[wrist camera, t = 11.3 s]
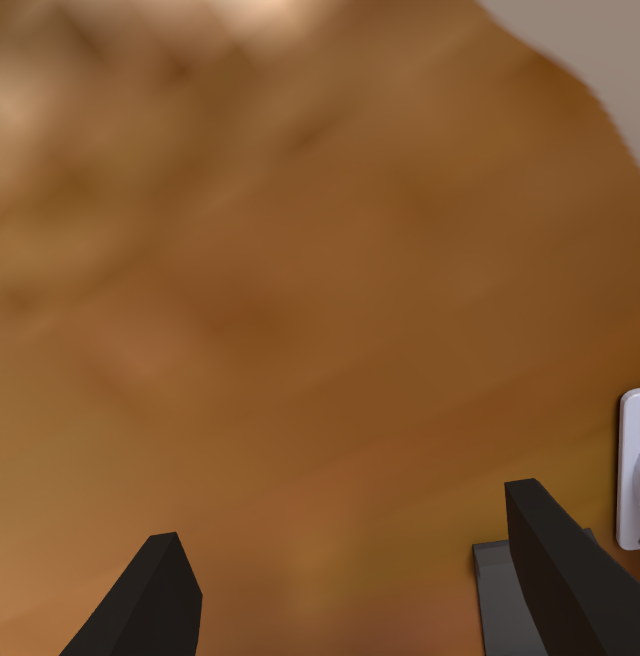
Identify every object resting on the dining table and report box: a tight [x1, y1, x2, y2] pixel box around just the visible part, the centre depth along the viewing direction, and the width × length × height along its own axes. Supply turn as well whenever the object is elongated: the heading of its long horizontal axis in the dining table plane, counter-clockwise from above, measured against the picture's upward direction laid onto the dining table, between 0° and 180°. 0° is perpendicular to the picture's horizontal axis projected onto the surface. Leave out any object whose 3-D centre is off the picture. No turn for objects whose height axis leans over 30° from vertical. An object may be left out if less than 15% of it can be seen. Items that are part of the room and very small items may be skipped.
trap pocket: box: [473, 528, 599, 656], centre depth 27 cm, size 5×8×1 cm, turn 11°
